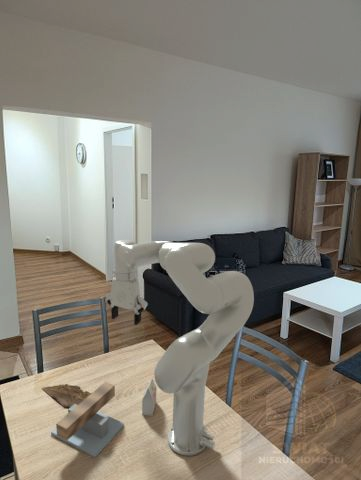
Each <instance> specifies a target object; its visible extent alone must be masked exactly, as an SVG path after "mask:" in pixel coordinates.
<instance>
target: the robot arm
mask: <svg viewBox="0 0 361 480" xmlns="http://www.w3.org/2000/svg"><path fill="white" fill-rule="evenodd" d="M113 248H114V269H113V270H112V274H114V277H113V278H112V280H111V281H112V282H111V286H110V292H109V293H106V294H105V299H106V302H107V304H108V305H109V308H110V310H111V320H114V319H116V318H117V317H119V308H122V309H126V310H133V312H134V315H133V316H134V317H133V318H134V322H133V323H134V325H135V326H137V325H138V324H139V323H141V321H142V312H144V311H145V310H146V309H147V306H148V305H149V304H148V302H147V301H146V300H145V299H144V298H142V297H141V290H140V289H141V288H140V283H139V279H138V278H137V269H138V268H140V267H145V266H148V265H153V264H160V266H161V268H162V269H163V270H165V271H166V272H167V274H168V276H169V277H170V279H171V280H172V282H173V283H174V284H175V286H176V287H177V288H178V289H179V290H180V291H181V293H182V294H183V295H184V297H186V299H187V301H188V302H189V303H190V304H191V305H192V306H193V307H194V308H195V309H196V310H197V311H198V312H200V313H202V314H205V315H208V316H207V317H206V319H205V320H204V321H203V322H202V324H201V325H200V326H198V327H197V328H196V329H193V330H191V331H190V332H187V333H185V334H183V335H182V336H180V337H178V338H176V339H175V340H174V341H173V342H171V343H170V345H169V346H168V348H167V349H166V350H165V352H164V353H163V355H161V357H160V358H159V360H158V361H157V363H156V365H155V368H154V380H155V381H154V382H155V383H156V384H155V385H156V387H158V389H160V390H161V391H162V392H164V393H165V394H169V395H170V394H173V401H172V402H173V403H172V404H173V408H172V409H173V410H172V426H171V427H170V428H169V430H168V432H167V443H168V445H169V447H170V448H171V450H172V451H173V452H175V453H177V454H179V455H182V456H187V457H189V456H195V455H198V454H200V453H202V452H203V451H204V450H205V448H206V447H207V448H208V449H211V450H214V449H215V445H216V443H215V441H214V439H215V438H214V437H215V435H212V434H209V433H208V432H207V427H206V426H205V425H204V417H205V398H206V397H205V395H206V384H207V378H208V375H209V371H210V363H211V362H213V361H215V360H216V358H217V357H218V356H219V355H220V353H221V352H222V351H223V350H224V349H225V347H227V346H228V344H230V342H231V341H232V340H233V338H234V337H236V335H237V334H238V332H239V331H240V330H242V328H243V327H244V326H245V324H246V322H247V321H248V319H249V318H250V315H251V314H252V311H253V308H254V301H255V295H254V287H253V284H252V283H251V280H250V279H249V277H248V276H247V275H246V274H244V273H242V272H241V271H237V270H229V271H224V272H221V273H218V274H214V275H211V276H209V277H206V276H205V275H204V273H206V272H208V271H209V270H210V269H211V268H212V267H213V266H214V263H215V260H216V254H215V251H214V249H213V248H212V247H211V246H210V245H208V244H206V243H202V242H172V241H168V240H167V241H166V240H165V241H164V240H163V241H162V240H160V241H158V240H156V241H153V240H152V241H145V242H142V243H136V242H135V241H134V240H132V239H119V240H117V241H115V243H114V247H113Z"/></svg>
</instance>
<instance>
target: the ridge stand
mask: <svg viewBox="0 0 361 480" xmlns="http://www.w3.org/2000/svg"><path fill="white" fill-rule="evenodd" d="M76 406H78V405H76V404H74V405H73V406H71V407H68V409H67V414H68V413H69V412H71V411H72V410H73V409H74V408H75V407H76ZM124 426H125V423H124V422H122V421H120V420H118V419H115V418H114V417H111V416H109V415H107V414H105V413H102V412H100V411H98V412H97V413H96V414H95V415H94V416H93V417H92V418H91V419H89V420H88V421H87V422H86V423H85V424H84V425H83V426H82V427H81V428H80V429H79V430H78V431H77V432H76V433H75V434H74V435H73V436H71V437H70V438H69V439H68V440H65V439H63V438H61V437H59V436H57V427H55V428H53V429H52V430H51V431H50V434H51V436H53V437H56V438H57V439H59V440H60V441H63V442H65V443H66V444H69V445H70V446H72V447H74V448H76V449H77V450H80V451H82V452H84V453H85V454H88V455H89V456H91V457H93V458H96V457H97V456H98V455H99V454H100V453H101V451H102V450H104V448H105V447H106V446H107V445H108V444H109V443H110V442H111V441H112V439H113V438H114V437H115V436H116V435H117V434H118V433H119V432H120V431H121V430H122V429H123V427H124Z"/></svg>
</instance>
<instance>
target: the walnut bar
mask: <svg viewBox="0 0 361 480" xmlns="http://www.w3.org/2000/svg"><path fill="white" fill-rule="evenodd" d="M115 387H116V386H115V384H112V383H109V382H107V381H105V382H104V383H102V384H101V385H99V387H98V388H96V389H95V390H94V391H93V392H91V393H92V394H91V395H89V396H88V397H87V398H86V399H85V400H84V401H82V402H81V403H80V404H79V405H78V406H76V407H75V408H74V409H73V410H72V411H71V412H69V413H68V412H67V414H65V416H64V417H62V418H61V419H60V420H59V421H58V422H57V423H56V424H55V425H56V427H57V436H59V437H61V438H63V439H65V440H68V439H69V438H70V437H71V436H73V435H74V434H75V433H76V432H77V431H78V430H79V429H80V428H81V427H82V426H83V425H84V424H85V423H86V422H87V421H88V420H89V419H91V418H92V417H93V416H94V415H95V414H96V413H97V412H100V410H101V409H102V408H104V407H105V405H106V404H107V403H109V402H110V401H111V400H112V399H113V398H114V397H115V395H116V394H115V393H116V390H115ZM56 427H55V428H56Z"/></svg>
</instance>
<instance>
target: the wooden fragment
mask: <svg viewBox="0 0 361 480" xmlns="http://www.w3.org/2000/svg"><path fill="white" fill-rule="evenodd" d="M41 390H42V391H43V392H45V393H47V395H49V396H50V397H51V398H52V399H53V398H54V400H56V401H57V402H58V403H59V404H61V406H63V407H64V408H70V407H71V406H73V405H74V404H76V405H79V404H80V403H81V402H82V401H84V400H85V399H86V398H87V397H88V396H89V395H91V394H92V393H93V392H89V391H87V390H85V391H84V390H82V389H81V386H78V385H72V384H70V385H69V384H68V383H66V384H57V385H51V386H45V387H41Z"/></svg>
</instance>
